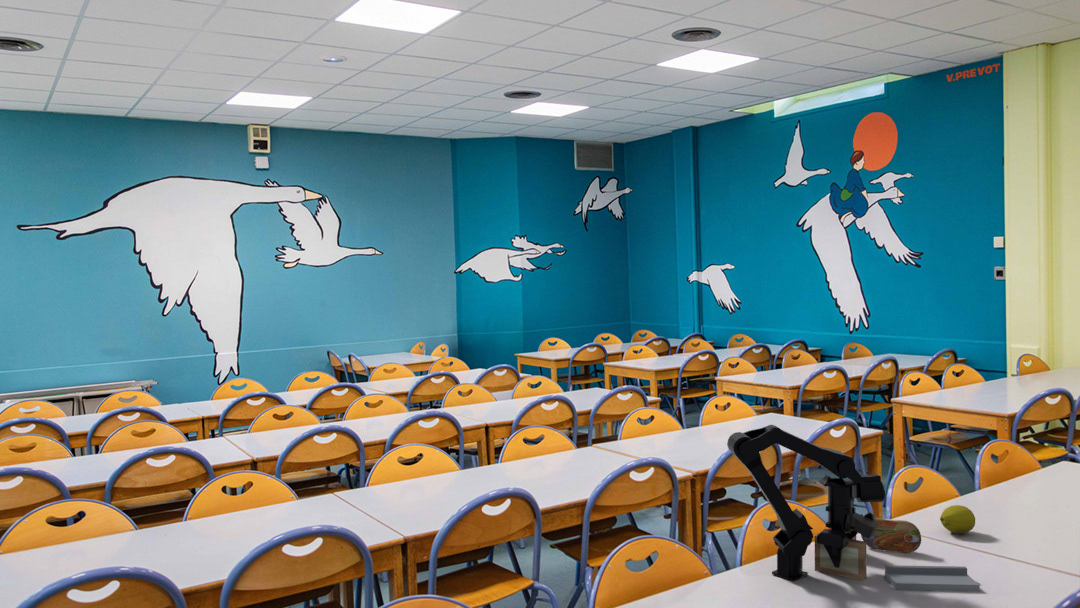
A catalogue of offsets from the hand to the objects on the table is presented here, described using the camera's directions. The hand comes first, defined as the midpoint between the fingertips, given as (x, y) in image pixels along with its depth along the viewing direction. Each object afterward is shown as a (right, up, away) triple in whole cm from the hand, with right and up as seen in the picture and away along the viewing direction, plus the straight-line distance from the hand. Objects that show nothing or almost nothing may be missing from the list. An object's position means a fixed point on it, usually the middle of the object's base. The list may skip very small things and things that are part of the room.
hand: (840, 563), depth 201 cm
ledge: (+19, -2, -7) cm, 21 cm away
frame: (0, -3, 0) cm, 3 cm away
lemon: (+45, -1, +29) cm, 53 cm away
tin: (+20, -2, +17) cm, 26 cm away
